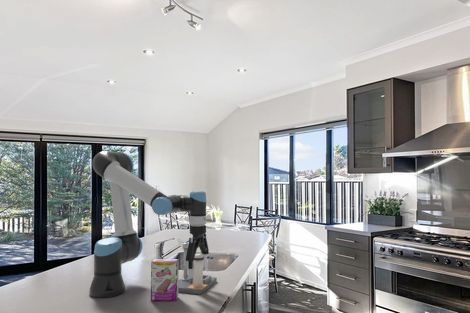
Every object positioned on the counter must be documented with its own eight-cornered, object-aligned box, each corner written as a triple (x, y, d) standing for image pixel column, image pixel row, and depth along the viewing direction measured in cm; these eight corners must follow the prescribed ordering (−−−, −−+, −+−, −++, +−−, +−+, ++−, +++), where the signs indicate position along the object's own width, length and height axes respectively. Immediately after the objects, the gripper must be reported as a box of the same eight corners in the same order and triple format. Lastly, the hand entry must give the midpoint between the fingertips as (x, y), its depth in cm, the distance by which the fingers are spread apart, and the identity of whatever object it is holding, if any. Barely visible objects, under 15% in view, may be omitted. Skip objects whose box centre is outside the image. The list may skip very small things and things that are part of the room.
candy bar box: (150, 301, 147) (150, 261, 148) (152, 297, 152) (153, 258, 153) (177, 301, 148) (177, 261, 149) (178, 297, 153) (178, 258, 154)
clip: (182, 243, 185) (182, 238, 185) (189, 248, 171) (189, 243, 172) (176, 243, 184) (176, 239, 184) (183, 249, 170) (183, 244, 170)
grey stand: (201, 294, 156) (201, 256, 157) (167, 291, 161) (168, 253, 162) (217, 281, 175) (217, 247, 176) (187, 278, 180) (187, 245, 181)
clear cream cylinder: (200, 288, 157) (201, 256, 158) (190, 287, 159) (190, 255, 160) (205, 284, 162) (205, 254, 163) (194, 283, 164) (195, 253, 165)
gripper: (193, 229, 149) (193, 280, 148) (215, 222, 173) (215, 266, 172) (178, 228, 152) (177, 278, 150) (201, 221, 175) (201, 264, 174)
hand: (197, 272), depth 161 cm, fingers open, 13 cm apart
